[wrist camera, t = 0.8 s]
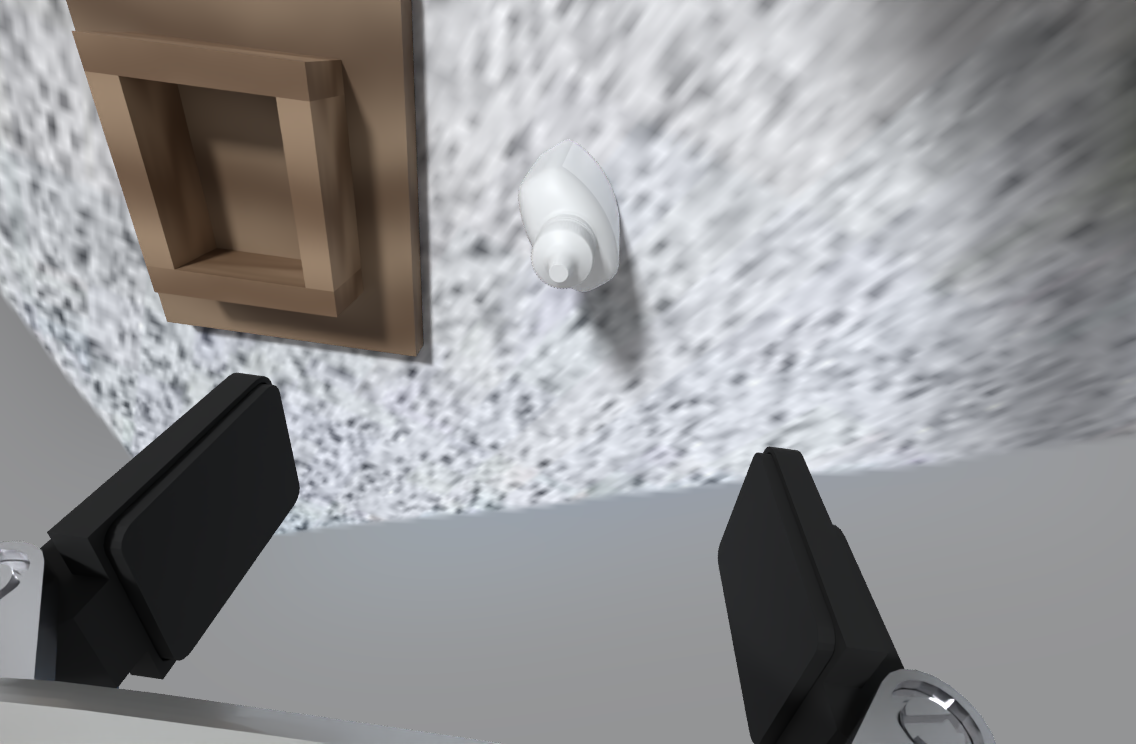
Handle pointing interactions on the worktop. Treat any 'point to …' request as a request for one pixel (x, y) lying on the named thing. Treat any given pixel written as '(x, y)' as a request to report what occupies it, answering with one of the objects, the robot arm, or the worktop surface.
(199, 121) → the bottle stand
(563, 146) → the eye dropper bottle
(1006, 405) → the worktop surface
